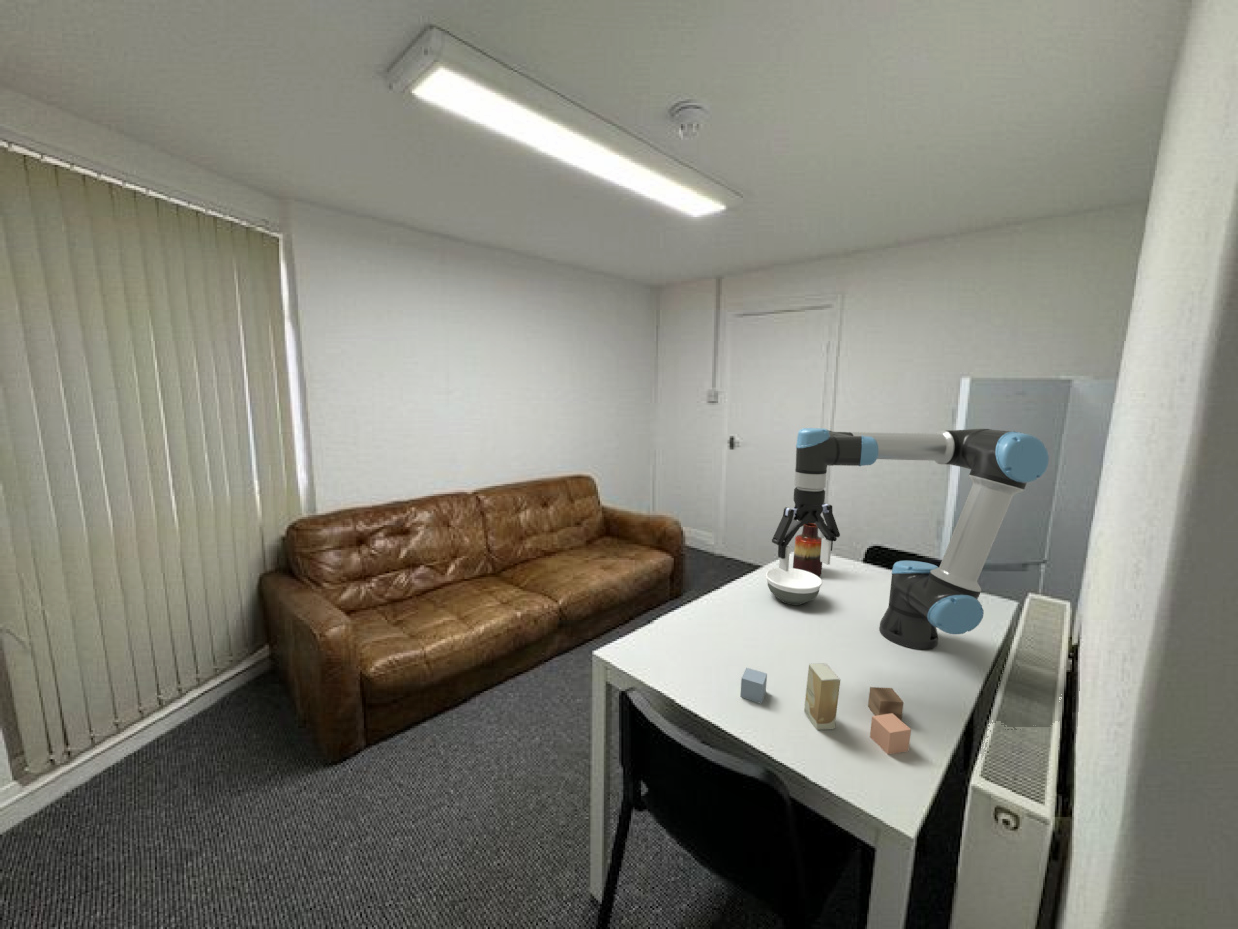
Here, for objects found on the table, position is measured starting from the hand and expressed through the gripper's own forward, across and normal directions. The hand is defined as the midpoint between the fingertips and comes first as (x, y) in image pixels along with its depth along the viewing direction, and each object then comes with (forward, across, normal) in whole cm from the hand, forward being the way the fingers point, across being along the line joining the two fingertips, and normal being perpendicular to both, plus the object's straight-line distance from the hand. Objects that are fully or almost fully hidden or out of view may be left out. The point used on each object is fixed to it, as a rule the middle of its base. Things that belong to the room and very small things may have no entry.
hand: (804, 566), depth 126 cm
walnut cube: (+27, -3, +25) cm, 37 cm away
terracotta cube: (+27, +4, +32) cm, 42 cm away
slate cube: (+26, +21, +9) cm, 35 cm away
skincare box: (+27, +13, +22) cm, 37 cm away
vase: (+27, -46, -49) cm, 72 cm away
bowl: (+27, -24, -31) cm, 48 cm away
